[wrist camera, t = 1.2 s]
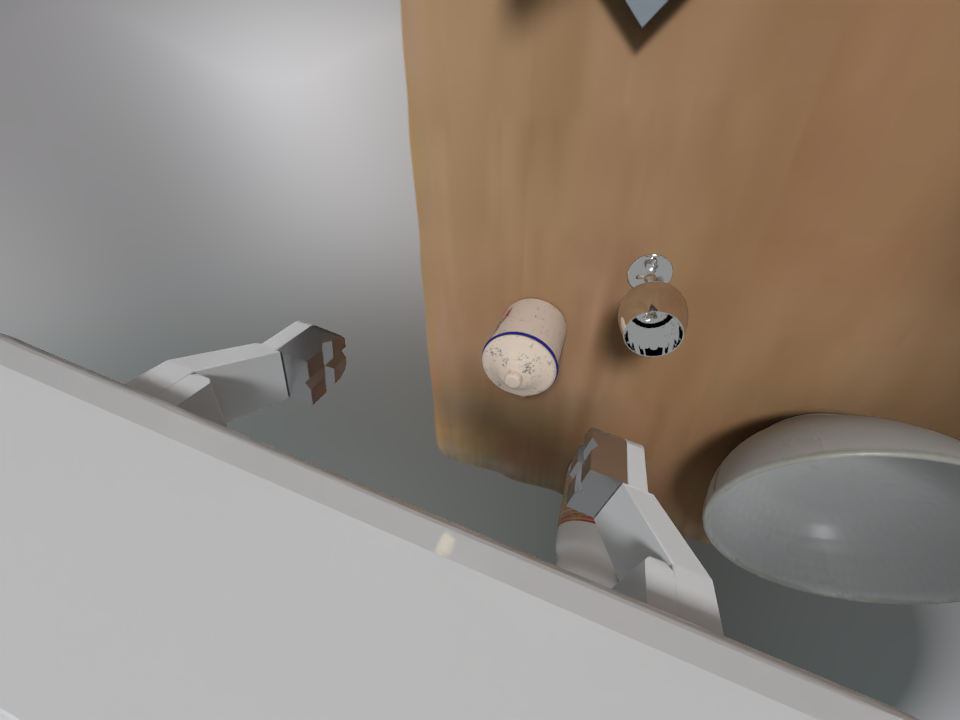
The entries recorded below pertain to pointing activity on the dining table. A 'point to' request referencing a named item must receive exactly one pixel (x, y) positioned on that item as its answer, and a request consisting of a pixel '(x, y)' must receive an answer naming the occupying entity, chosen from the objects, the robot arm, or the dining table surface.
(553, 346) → the teacup with lid
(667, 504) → the dining table surface
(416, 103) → the dining table surface
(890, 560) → the decorative bowl
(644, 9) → the lock plate
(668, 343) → the wineglass
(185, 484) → the robot arm
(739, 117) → the dining table surface
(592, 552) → the fruit juice
